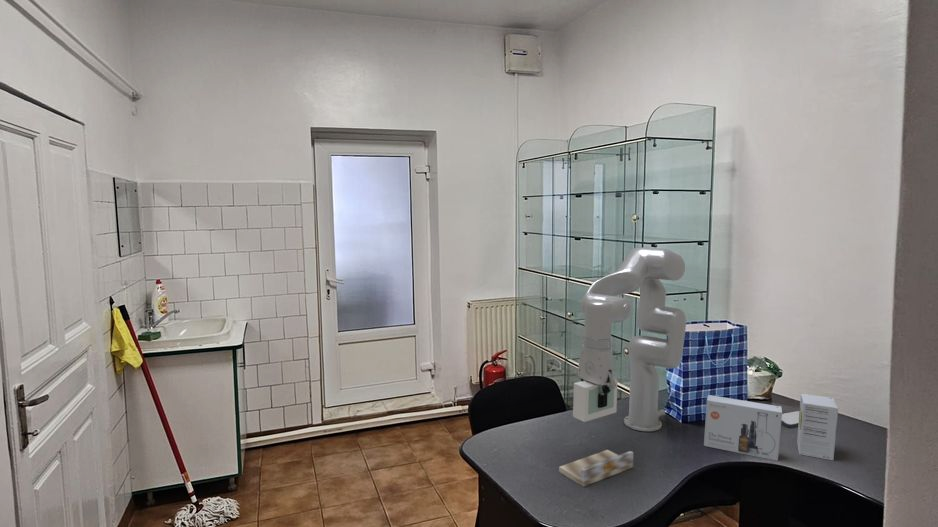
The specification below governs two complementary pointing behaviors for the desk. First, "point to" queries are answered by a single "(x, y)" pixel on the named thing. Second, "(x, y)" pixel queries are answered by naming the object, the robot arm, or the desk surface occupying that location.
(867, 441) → the desk surface
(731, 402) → the skincare box
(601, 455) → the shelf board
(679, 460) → the desk surface
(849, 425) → the desk surface
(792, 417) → the phone case
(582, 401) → the carton
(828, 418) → the supplement box
